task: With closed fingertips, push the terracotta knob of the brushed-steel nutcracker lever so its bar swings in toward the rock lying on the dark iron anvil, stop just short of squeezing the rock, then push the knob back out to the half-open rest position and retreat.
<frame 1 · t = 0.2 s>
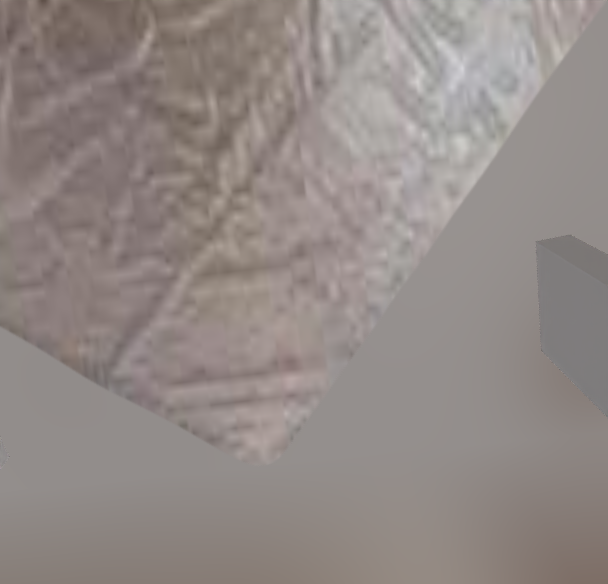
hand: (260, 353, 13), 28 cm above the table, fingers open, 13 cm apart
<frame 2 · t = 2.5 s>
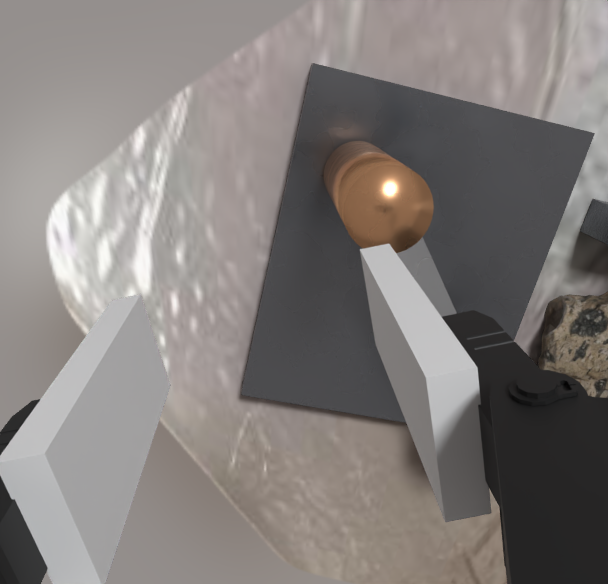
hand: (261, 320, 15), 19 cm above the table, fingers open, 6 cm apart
lever: (440, 339, 30), point 6 cm above the table, hinge at 40.0°
cracker base: (460, 397, 38), on the table
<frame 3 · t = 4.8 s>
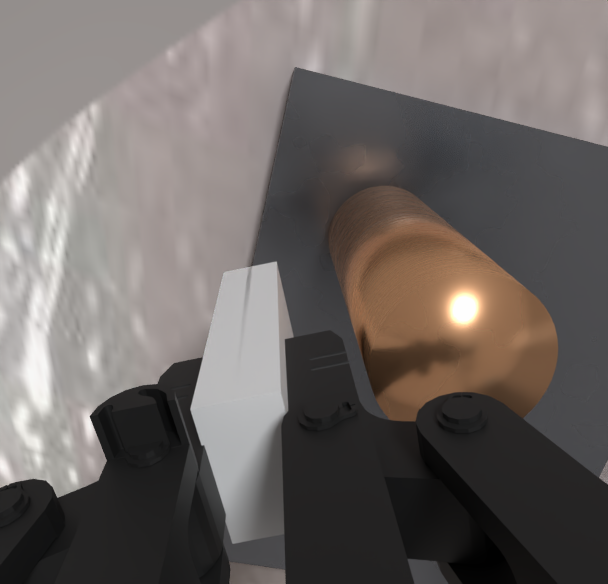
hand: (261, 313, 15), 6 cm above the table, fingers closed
lever: (509, 520, 18), point 6 cm above the table, hinge at 38.0°, touching gripper
cracker base: (511, 550, 26), on the table
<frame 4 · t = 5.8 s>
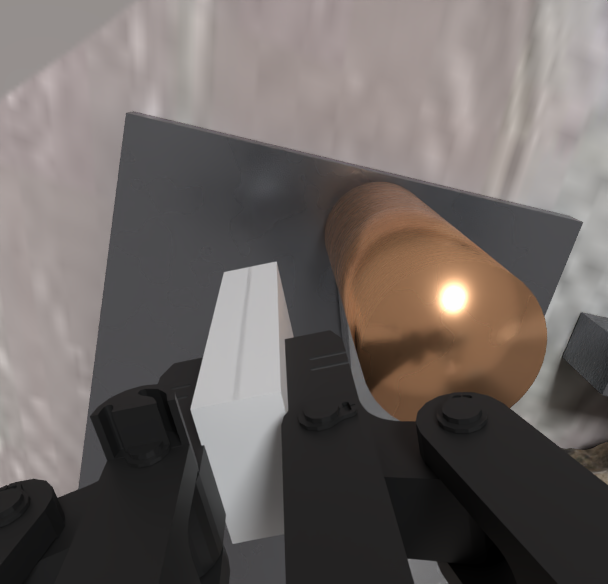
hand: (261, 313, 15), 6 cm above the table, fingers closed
lever: (416, 536, 18), point 6 cm above the table, hinge at 19.3°, touching gripper
rock: (607, 497, 26), on the table
cracker base: (392, 576, 27), on the table
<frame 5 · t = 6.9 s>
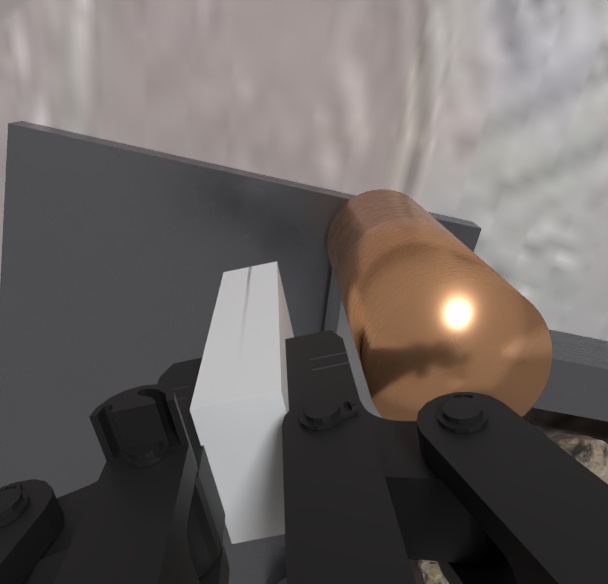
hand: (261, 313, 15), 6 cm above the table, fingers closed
lever: (361, 545, 18), point 6 cm above the table, hinge at 6.8°, touching gripper
rock: (530, 500, 26), on the table
cracker base: (318, 581, 27), on the table
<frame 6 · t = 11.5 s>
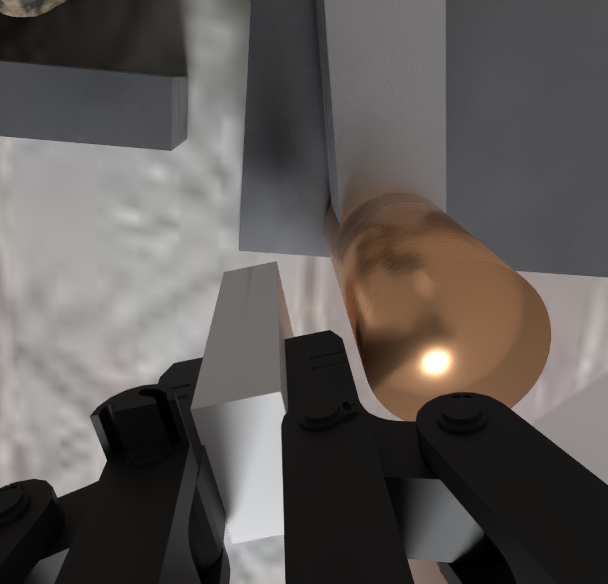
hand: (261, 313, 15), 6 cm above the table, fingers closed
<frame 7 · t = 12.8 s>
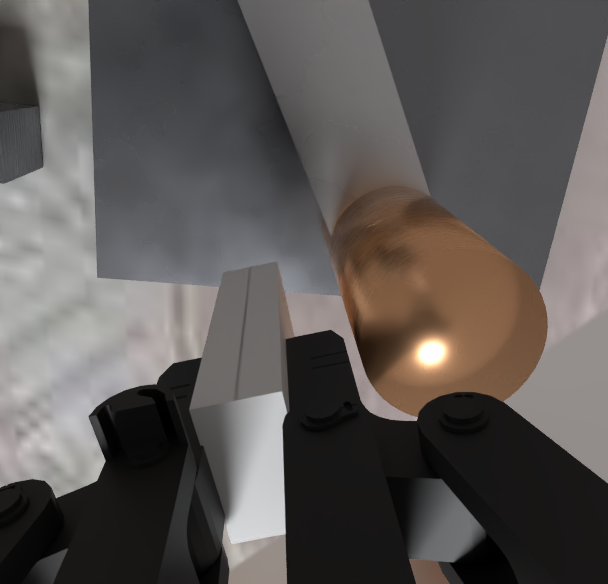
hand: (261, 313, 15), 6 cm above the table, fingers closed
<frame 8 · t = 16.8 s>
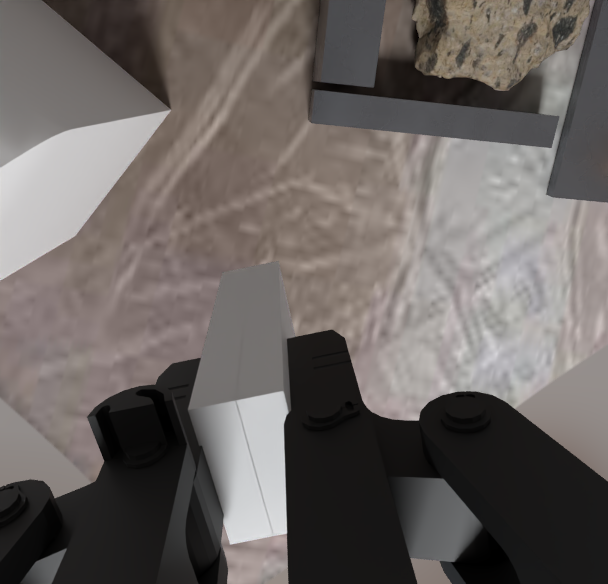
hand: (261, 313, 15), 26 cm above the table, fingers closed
rock: (491, 3, 37), on the table
milk: (47, 115, 38), on the table
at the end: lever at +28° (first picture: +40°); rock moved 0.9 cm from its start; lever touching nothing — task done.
